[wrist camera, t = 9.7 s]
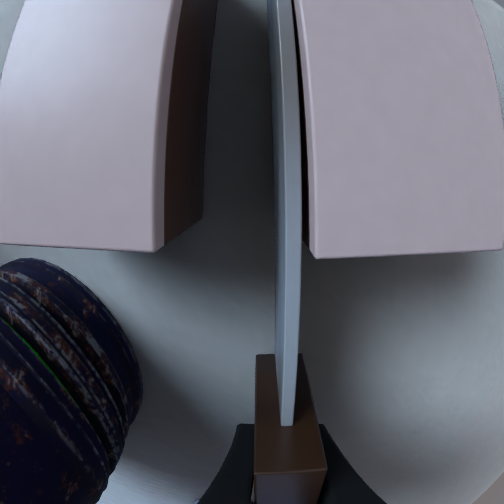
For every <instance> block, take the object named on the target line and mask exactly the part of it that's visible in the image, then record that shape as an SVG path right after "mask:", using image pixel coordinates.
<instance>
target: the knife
mask: <svg viewBox="0 0 504 504" xmlns="http://www.w3.org/2000/svg"><path fill="white" fill-rule="evenodd" d="M267 15H268V33H269V52H270V73H271V98H272V126H273V160H274V208H275V354H258V355H256V368H255V425H254V493H255V504H317V502H318V499H319V495H320V492H321V489H322V486H323V483H324V479H325V476H326V473H327V469H328V468H327V463H326V458H325V453H324V449H323V444H322V439H321V434H320V430H319V425H318V421H317V416H316V411H315V407H314V402H313V398H312V394H311V389H310V385H309V380H308V376H307V372H306V367H305V363H304V359H303V355H302V353H298V346H299V325H300V300H301V260H302V176H301V137H300V112H299V92H298V75H297V60H296V47H295V35H294V23H293V13H292V3H291V0H267Z"/></svg>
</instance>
